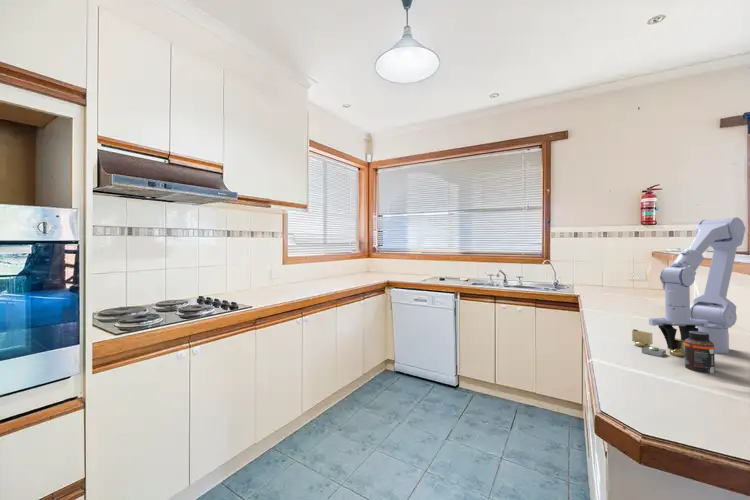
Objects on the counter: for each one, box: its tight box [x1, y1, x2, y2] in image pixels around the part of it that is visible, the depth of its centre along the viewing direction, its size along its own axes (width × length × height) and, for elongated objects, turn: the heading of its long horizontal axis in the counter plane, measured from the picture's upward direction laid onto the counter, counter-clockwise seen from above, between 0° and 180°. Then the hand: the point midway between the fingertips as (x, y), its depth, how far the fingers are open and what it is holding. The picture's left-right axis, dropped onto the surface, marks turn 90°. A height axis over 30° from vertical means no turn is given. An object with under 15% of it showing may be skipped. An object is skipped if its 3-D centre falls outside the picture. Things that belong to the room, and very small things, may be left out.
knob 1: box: [631, 329, 654, 348], centre depth 114 cm, size 5×4×5 cm
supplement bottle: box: [684, 331, 716, 374], centre depth 92 cm, size 6×6×11 cm
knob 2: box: [667, 337, 685, 358], centre depth 104 cm, size 5×4×5 cm
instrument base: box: [641, 346, 667, 358], centre depth 108 cm, size 12×16×3 cm
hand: (678, 349), depth 104 cm, fingers open, 3 cm apart
